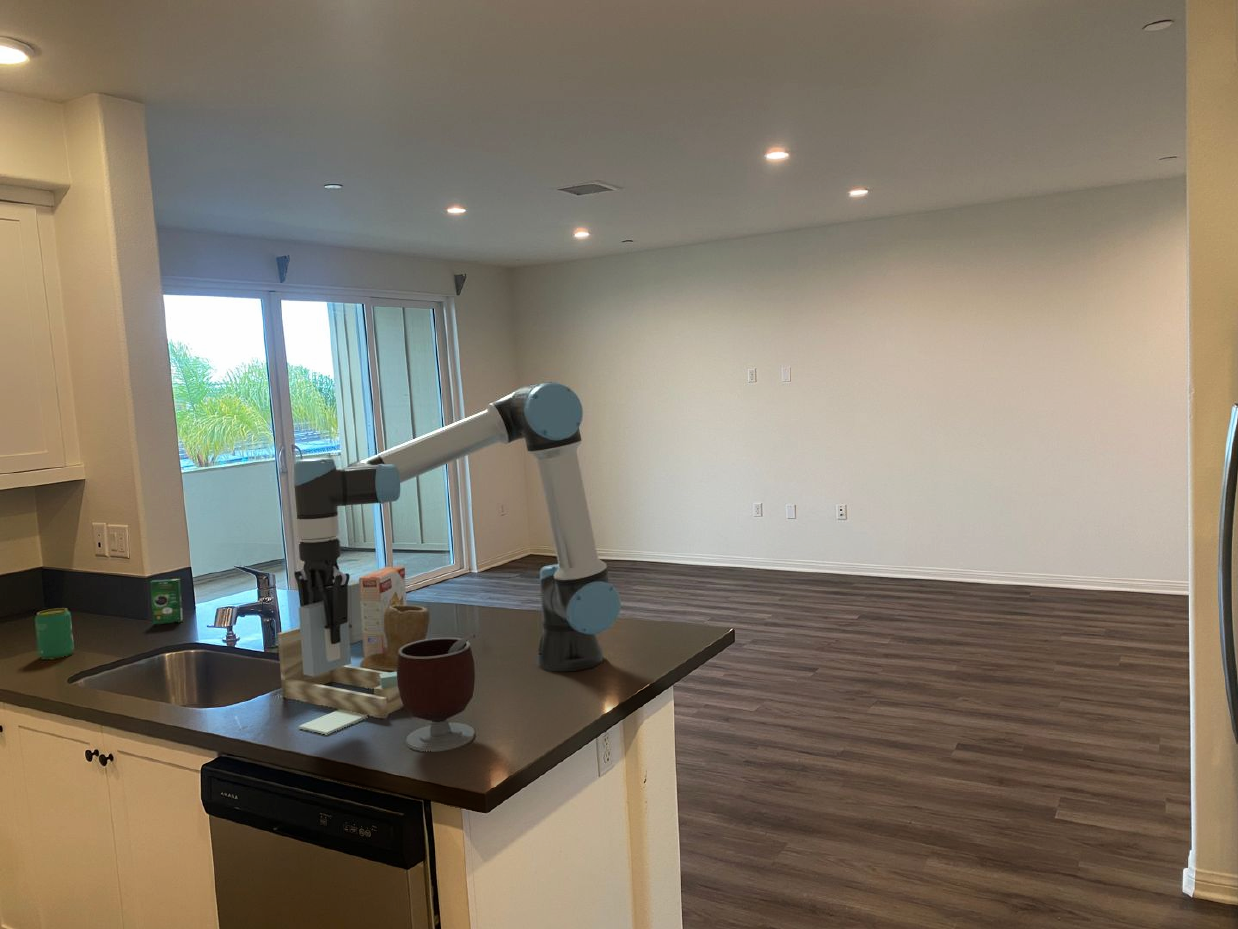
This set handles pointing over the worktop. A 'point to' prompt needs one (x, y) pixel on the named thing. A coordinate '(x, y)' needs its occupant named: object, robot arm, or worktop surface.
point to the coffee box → (166, 601)
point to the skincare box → (354, 612)
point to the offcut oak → (394, 705)
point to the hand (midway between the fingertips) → (327, 658)
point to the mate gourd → (437, 690)
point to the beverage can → (54, 633)
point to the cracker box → (379, 605)
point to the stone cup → (399, 635)
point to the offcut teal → (388, 679)
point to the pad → (333, 721)
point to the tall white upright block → (320, 641)
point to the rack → (327, 681)
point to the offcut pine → (387, 692)
